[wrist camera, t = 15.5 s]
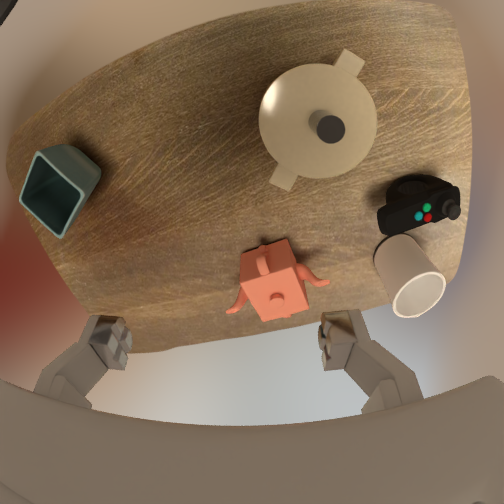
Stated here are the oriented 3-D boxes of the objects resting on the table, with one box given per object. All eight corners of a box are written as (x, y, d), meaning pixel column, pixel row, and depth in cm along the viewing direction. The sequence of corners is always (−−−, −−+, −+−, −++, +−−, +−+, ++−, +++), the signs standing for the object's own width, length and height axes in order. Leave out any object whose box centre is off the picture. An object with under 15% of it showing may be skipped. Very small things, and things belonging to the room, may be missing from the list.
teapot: (328, 276, 45) (339, 314, 38) (244, 303, 49) (243, 341, 42) (309, 217, 39) (321, 251, 32) (212, 250, 42) (204, 289, 35)
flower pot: (51, 175, 34) (17, 201, 27) (75, 130, 30) (36, 149, 23) (90, 208, 38) (60, 241, 30) (117, 166, 34) (85, 194, 27)
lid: (238, 144, 25) (235, 158, 22) (292, 43, 20) (300, 36, 16) (337, 192, 28) (350, 213, 24) (391, 104, 22) (415, 112, 19)
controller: (433, 187, 35) (470, 220, 27) (364, 213, 38) (391, 253, 30) (430, 162, 33) (470, 191, 25) (358, 187, 36) (386, 224, 28)
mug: (366, 241, 41) (390, 285, 33) (415, 222, 39) (447, 262, 31) (375, 288, 47) (394, 332, 38) (418, 271, 45) (442, 312, 36)
